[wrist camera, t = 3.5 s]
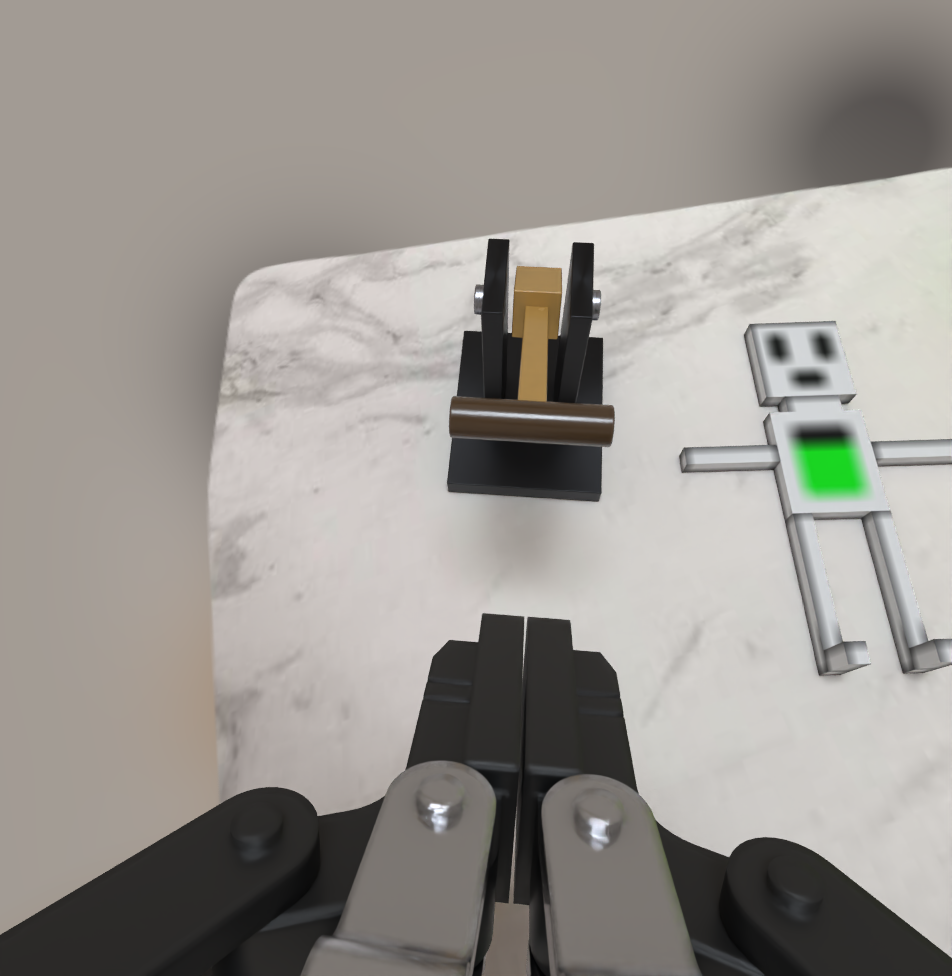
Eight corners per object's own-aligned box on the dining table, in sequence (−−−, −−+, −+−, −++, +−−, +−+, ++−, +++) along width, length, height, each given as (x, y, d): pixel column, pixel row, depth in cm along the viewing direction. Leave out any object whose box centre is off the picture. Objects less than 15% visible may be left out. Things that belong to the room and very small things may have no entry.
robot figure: (1030, 669, 36) (912, 328, 45) (1078, 658, 33) (942, 295, 42) (714, 678, 36) (660, 337, 45) (734, 667, 33) (672, 305, 42)
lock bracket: (598, 501, 41) (638, 383, 29) (448, 491, 41) (428, 371, 30) (600, 348, 45) (636, 192, 34) (465, 341, 46) (453, 186, 34)
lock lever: (608, 464, 26) (617, 411, 24) (449, 454, 26) (448, 401, 24) (595, 314, 35) (601, 269, 33) (477, 309, 35) (478, 263, 34)
